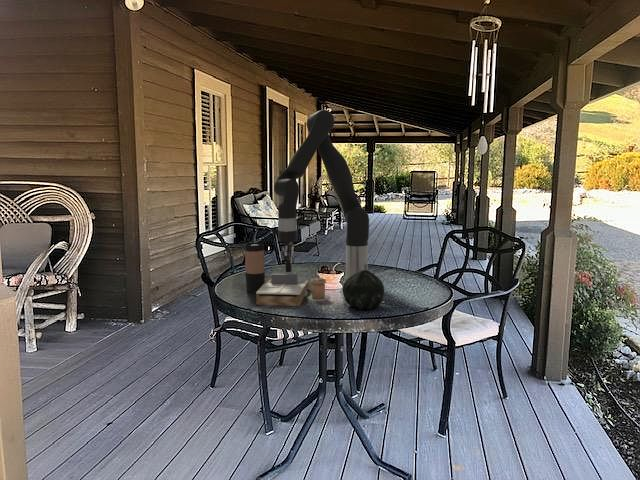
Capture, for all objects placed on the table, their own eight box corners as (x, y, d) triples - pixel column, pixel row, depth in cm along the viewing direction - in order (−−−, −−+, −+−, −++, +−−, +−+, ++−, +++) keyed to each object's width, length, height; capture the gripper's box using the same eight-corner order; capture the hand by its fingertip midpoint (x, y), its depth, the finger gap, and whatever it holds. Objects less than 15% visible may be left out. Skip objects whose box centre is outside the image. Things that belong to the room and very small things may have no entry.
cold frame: (308, 291, 206) (308, 280, 206) (299, 307, 183) (299, 295, 182) (270, 290, 208) (269, 279, 207) (256, 306, 184) (256, 294, 184)
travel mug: (242, 294, 202) (241, 245, 199) (251, 289, 209) (250, 242, 206) (259, 296, 199) (258, 246, 196) (268, 291, 206) (267, 243, 203)
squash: (362, 284, 195) (348, 259, 185) (396, 291, 186) (382, 266, 176) (345, 313, 189) (329, 290, 179) (379, 323, 179) (364, 298, 170)
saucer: (331, 296, 197) (331, 294, 197) (329, 303, 189) (329, 301, 188) (308, 296, 198) (308, 294, 198) (305, 302, 190) (305, 300, 189)
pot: (326, 295, 196) (326, 278, 195) (325, 299, 190) (325, 281, 189) (311, 295, 196) (311, 277, 195) (309, 299, 191) (309, 281, 190)
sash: (305, 285, 196) (305, 274, 196) (299, 294, 182) (299, 282, 182) (264, 284, 198) (264, 273, 198) (256, 293, 184) (256, 282, 183)
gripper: (281, 227, 207) (282, 268, 210) (275, 231, 194) (276, 275, 197) (299, 227, 207) (300, 268, 209) (294, 231, 194) (295, 275, 196)
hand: (288, 271), depth 203 cm, fingers closed
